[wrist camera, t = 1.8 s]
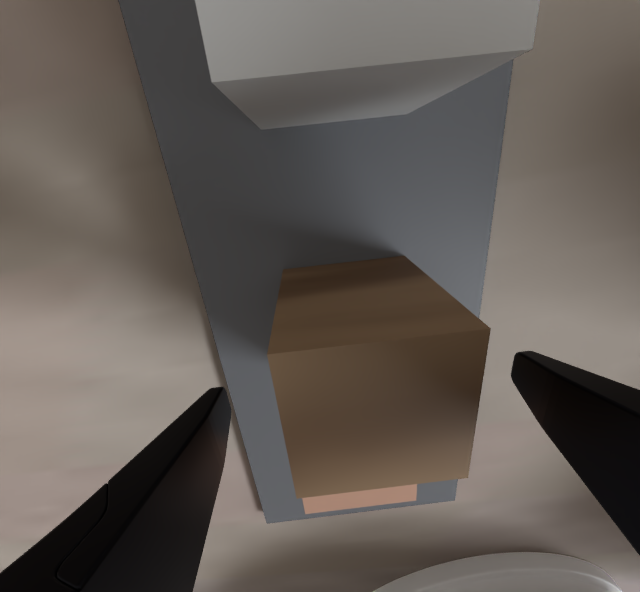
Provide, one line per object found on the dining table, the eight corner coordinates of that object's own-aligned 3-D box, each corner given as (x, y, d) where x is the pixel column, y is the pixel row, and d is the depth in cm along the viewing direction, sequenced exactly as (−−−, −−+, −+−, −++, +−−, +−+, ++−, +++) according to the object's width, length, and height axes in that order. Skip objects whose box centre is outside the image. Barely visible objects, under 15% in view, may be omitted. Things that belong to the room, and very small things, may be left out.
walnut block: (282, 269, 12) (266, 354, 6) (404, 255, 12) (490, 328, 7) (298, 369, 14) (296, 498, 8) (402, 356, 14) (467, 477, 9)
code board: (91, -129, 8) (74, -152, 7) (530, -170, 8) (547, -196, 8) (267, 513, 19) (266, 523, 19) (450, 490, 19) (455, 500, 19)
